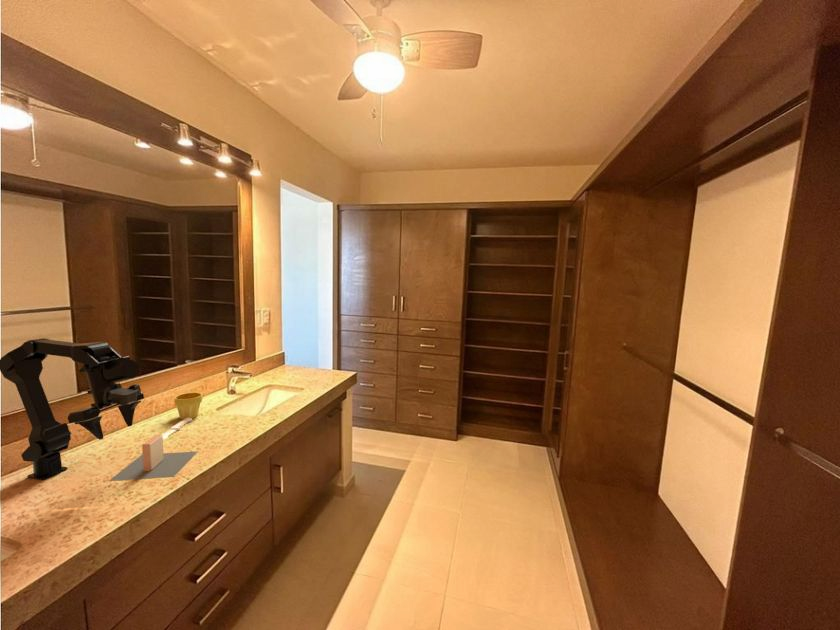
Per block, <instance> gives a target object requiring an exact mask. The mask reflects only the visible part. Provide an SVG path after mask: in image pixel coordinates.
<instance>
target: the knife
mask: <svg viewBox="0 0 840 630" xmlns="http://www.w3.org/2000/svg"><path fill="white" fill-rule="evenodd" d="M190 421H191V422H193V418H189V417H188V418H185V419H181V421H179V422H177V423H176V424H174V425H173V426H171V427H170V428H169V430H167V431H166V432H164V433H162V436H163V440H166V439H167V438H168V437H169V436H170V435H171V434H173V433H176V432H177V430H179V431H181V428H183V427H182V426H184V424H185V425H186V424H187V422H188V423H191V422H190ZM180 427H181V428H180Z"/></svg>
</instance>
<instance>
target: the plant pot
mask: <svg viewBox="0 0 840 630" xmlns="http://www.w3.org/2000/svg"><path fill="white" fill-rule="evenodd" d="M202 401H203V394H202V393H201V392H197V391H196V392H194V391H193V392H191V391H190V392H183V393H180V394H178V395H176V396H174V405H175V406H176V409H177V412H178V416H179V419H181V420H184V419H185V418H188V417H189V418H192V419H194V418H196V417H198V415H199V410H200V405H201V403H202Z"/></svg>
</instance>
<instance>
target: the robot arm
mask: <svg viewBox="0 0 840 630" xmlns="http://www.w3.org/2000/svg"><path fill="white" fill-rule="evenodd" d="M48 355H49V356H55V357H56V356H57V357H63V358H64V357H65V358H70V359H72V361H73V362H74V363H79V364H81V365H83V366H82V367H81V368H80V369H79V370H78V373H80V374H81V373H86V377H87V381H88V384H89V387H90V389H89V390H87V394H88V395H89V394H90V395H92V398H93V402H92V403H90V406H89V407H86V408H85V407H84V408H81V409H77V410H75V411H72V412H69V413H68V415H67V421H68V423H69V424H74V425H80V426H81V427H82V428H84V429H85V430H87V431H88V432H89V433H90V434H92V435H93V436H94V437H95V438H96V439H97V440H103V439H104V432H103V429H102V424H101V420H102V418H103V415H101V412H103V411H106V410H108V409H112V408H114V407H118V410H119V412H120V414H121V416H122V418H123V420H124V422H125V424H126V425H127V427H131V426H133V422H134V417H135V416H134V415H135V410H136V407H137V406H138V405H139V404H140V403H142V400H143V399H145V396H144V392H142V389H141V386H140V384H137V383H135V384H131V385H130V386H129V387H126V388H124V387H122V385H121V383H120V381H123V380H130V379H134V378H136V377H137V376H138V374H139V372H140V366H139V364H138V363H137V362H136V361H135V360H132V359H131V357H130V356H129V355H126V356H121V355H120V354H119V353H118V352H117V351H116V350H114V349H113V347H111V346H110V344H109V343H108V342H107V341H98V342H97V341H95V342H87V343H86V342H85V343H77V342H71V341H70V342H69V341H62V340H55V339H49V338H45V337H44V338H36V339H29V340H27V341H25V342H23V343H22V344H21V345H20V346H18V347H16V348H14V349H12V350H11V351H9V352H7V353H6V354H5V355H3V356H1V358H0V373H1V374H2V376H3V378H4V379H7V380H8V381H9V382H11V383H13V384H14V385H15V387H16V389H17V392H18V395H19V396H20V400H21V401H22V405H23V408H24V409H25V412H26V415H27V418H28V420H29V422H30V425H31V431H30V433H29V435H28V437H27V440H28V443H29V445H28V447H26V449H24V451H23V452H22V453H21V458H22V460H23V461H24V462H31V463H32V469H33V473H30V474H28V475H27V476H26V477H27V478H29V479H35V480H36V479H37V480H46V479H48V478H52V477H54V476H55V475H58V474H60V473H61V472H64V471H66V470H68V468H69V467H67V466H62V457H61V452H62V451H65V450H67V449H68V448H69V446H70V445H69V444H70V441H71V439H72V438H71V437H72V436H71V435H72V432H71V431H70V429H69V424H67V423H66V422H63V423H62V422H59V421H58V420H56V418H55V415H54V413H53V410H52V408H51V405H50V403H49V400H48V397H47V395H46V393H45V392H46V391H45V389H44V387H43V384H42V382H41V379H40V377H41V374H42V371H43V369H44V366H43V361H45V360H46V358H48ZM116 382H118V383H116ZM99 415H100V416H99Z"/></svg>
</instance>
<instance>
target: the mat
mask: <svg viewBox="0 0 840 630" xmlns="http://www.w3.org/2000/svg"><path fill="white" fill-rule="evenodd" d="M198 452H199V451H198V450H197V451H184V452H183V451H180V452H163V456H164V459H163V460H162V461H161V462H160V463H159V464H158V465H157V466H156V467H155V468H153V469H152V470H151V471H144V469H143V453H142V454H141V455H139V456H138V457H137V458H136V459H134V460H133V461H132V462H131V463H129V464H128V465H127V466H125V467H124V468H123V469H121V471H119V472H118V473H117V474H115V476H113V477H112V478H110V479H109V480H108V481H109V482H115V481H129V480H132V481H133V480H145V479H146V480H147V479H159V478H162V479H164V478H174V477H175V476H176V475H177V474H179V472H180V471H181V470H182V469H183V468H184V467H185V466H187V464H188V463H189V462H190V461H191V460H192V459H193V457H195V456H196V454H197V453H198Z"/></svg>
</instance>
